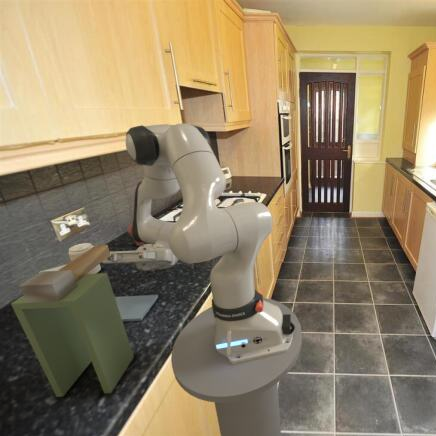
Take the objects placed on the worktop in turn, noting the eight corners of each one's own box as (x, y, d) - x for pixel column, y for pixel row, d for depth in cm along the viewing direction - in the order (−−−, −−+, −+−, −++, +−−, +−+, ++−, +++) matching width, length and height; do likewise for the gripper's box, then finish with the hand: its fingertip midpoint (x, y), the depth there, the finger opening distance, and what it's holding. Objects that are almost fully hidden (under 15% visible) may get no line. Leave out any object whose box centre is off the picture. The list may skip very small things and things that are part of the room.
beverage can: (82, 280, 105) (72, 253, 101) (73, 274, 109) (63, 248, 105) (105, 270, 112) (97, 245, 108) (95, 265, 116) (87, 240, 112)
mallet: (116, 254, 70) (112, 241, 69) (59, 301, 52) (52, 283, 51) (92, 255, 70) (88, 242, 68) (26, 302, 52) (18, 285, 51)
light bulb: (129, 245, 134) (123, 223, 130) (145, 240, 139) (139, 219, 135) (135, 249, 130) (129, 227, 126) (150, 244, 135) (145, 222, 131)
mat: (158, 296, 95) (157, 294, 95) (141, 320, 84) (140, 318, 84) (111, 299, 94) (110, 297, 94) (88, 323, 83) (87, 321, 83)
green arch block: (134, 357, 71) (107, 272, 62) (111, 393, 62) (75, 300, 53) (86, 360, 70) (52, 275, 61) (56, 397, 61) (10, 303, 52)
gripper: (118, 249, 92) (88, 246, 78) (179, 246, 93) (160, 243, 79) (117, 267, 91) (86, 268, 77) (179, 264, 92) (159, 265, 78)
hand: (124, 255), depth 78 cm, fingers open, 8 cm apart
